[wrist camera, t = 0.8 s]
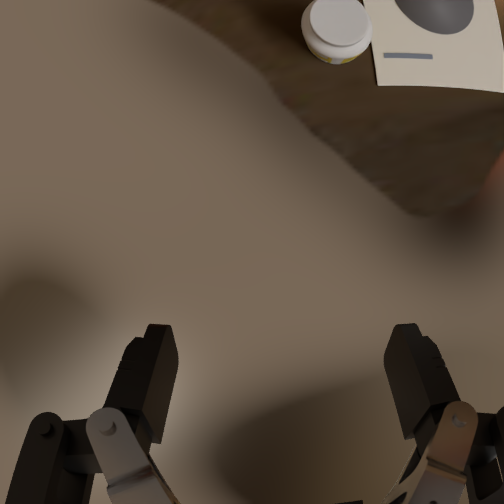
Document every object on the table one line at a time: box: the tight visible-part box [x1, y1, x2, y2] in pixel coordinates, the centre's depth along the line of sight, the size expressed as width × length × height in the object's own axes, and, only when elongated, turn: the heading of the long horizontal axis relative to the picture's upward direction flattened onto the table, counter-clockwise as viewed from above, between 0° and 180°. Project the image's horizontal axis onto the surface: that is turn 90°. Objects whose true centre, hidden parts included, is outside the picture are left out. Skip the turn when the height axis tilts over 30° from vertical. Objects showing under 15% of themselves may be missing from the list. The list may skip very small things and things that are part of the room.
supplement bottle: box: [301, 0, 373, 64], centre depth 20 cm, size 5×5×10 cm
